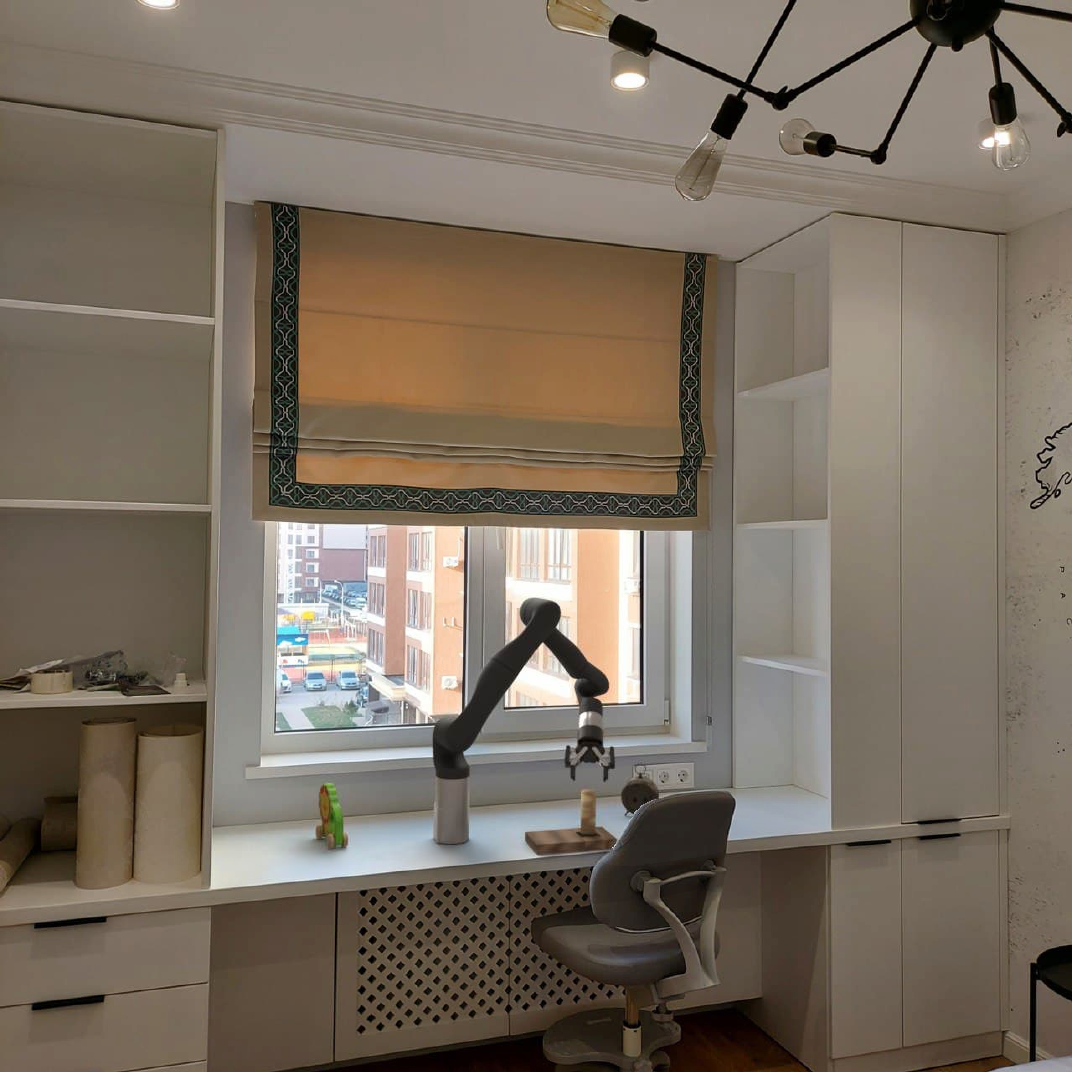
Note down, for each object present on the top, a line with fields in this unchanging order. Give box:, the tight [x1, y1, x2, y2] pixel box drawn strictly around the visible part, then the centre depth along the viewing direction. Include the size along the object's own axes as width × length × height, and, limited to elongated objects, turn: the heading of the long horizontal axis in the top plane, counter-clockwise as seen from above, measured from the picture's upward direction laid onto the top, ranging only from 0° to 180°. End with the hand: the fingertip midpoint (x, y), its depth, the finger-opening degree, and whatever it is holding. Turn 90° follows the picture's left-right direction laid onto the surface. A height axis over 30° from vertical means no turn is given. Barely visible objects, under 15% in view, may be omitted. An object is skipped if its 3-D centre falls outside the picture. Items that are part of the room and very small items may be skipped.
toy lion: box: [315, 782, 349, 850], centre depth 253 cm, size 16×5×15 cm, turn 29°
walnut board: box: [524, 826, 618, 856], centre depth 252 cm, size 22×12×2 cm, turn 106°
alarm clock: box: [620, 762, 660, 817], centre depth 279 cm, size 11×5×16 cm, turn 76°
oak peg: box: [580, 788, 597, 838], centre depth 254 cm, size 4×4×14 cm
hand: (589, 779), depth 262 cm, fingers open, 8 cm apart
